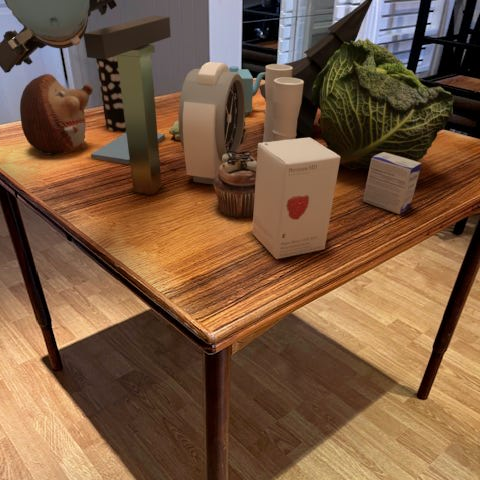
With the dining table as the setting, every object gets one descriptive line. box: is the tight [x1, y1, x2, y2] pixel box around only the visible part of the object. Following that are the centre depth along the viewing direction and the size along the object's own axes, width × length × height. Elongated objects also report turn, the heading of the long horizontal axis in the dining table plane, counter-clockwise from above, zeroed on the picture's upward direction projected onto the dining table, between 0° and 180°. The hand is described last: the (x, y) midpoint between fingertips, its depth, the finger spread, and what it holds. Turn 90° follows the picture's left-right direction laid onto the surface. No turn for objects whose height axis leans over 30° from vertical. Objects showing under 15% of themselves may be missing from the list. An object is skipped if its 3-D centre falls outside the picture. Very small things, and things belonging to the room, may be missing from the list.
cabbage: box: [310, 37, 455, 170], centre depth 96 cm, size 25×24×23 cm
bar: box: [83, 15, 171, 59], centre depth 74 cm, size 22×3×3 cm, turn 162°
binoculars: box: [262, 63, 304, 143], centre depth 95 cm, size 17×5×18 cm, turn 5°
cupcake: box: [213, 150, 257, 219], centre depth 82 cm, size 10×10×10 cm
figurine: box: [19, 73, 94, 156], centre depth 101 cm, size 14×16×15 cm
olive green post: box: [117, 44, 163, 196], centre depth 82 cm, size 5×5×24 cm
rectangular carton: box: [251, 137, 340, 260], centre depth 71 cm, size 9×9×15 cm
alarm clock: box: [177, 61, 246, 186], centre depth 90 cm, size 18×8×20 cm, turn 164°
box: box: [362, 152, 422, 215], centre depth 85 cm, size 8×4×9 cm, turn 47°
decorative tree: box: [259, 0, 373, 139], centre depth 110 cm, size 15×15×35 cm
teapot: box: [228, 65, 266, 117], centre depth 128 cm, size 16×18×11 cm
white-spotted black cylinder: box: [95, 55, 126, 133], centre depth 112 cm, size 8×8×20 cm
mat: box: [90, 132, 166, 165], centre depth 107 cm, size 18×9×1 cm, turn 162°
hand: (61, 29), depth 72 cm, fingers open, 13 cm apart
